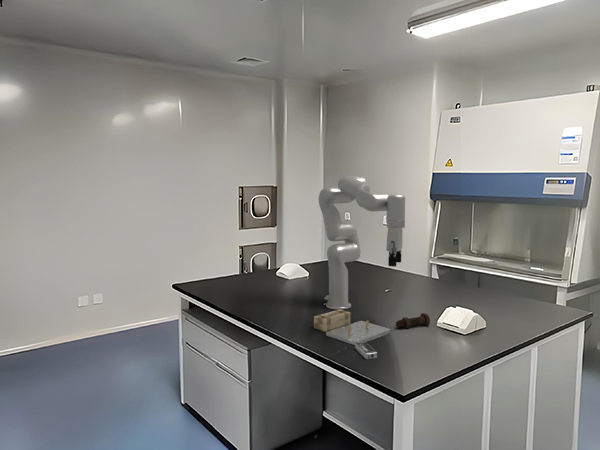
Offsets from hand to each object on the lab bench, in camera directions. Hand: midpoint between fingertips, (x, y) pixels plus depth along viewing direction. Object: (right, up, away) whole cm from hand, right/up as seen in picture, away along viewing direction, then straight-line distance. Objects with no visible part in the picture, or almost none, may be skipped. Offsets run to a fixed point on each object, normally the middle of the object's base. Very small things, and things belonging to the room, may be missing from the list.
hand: (394, 264), depth 194 cm
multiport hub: (-16, -31, -26) cm, 44 cm away
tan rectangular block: (-26, -27, +5) cm, 38 cm away
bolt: (+8, -28, +4) cm, 29 cm away
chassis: (-16, -28, -6) cm, 33 cm away
